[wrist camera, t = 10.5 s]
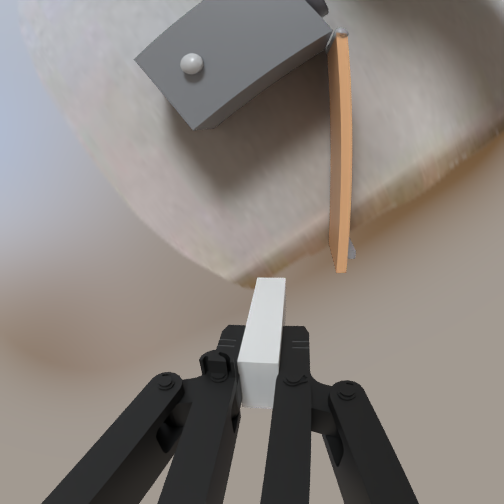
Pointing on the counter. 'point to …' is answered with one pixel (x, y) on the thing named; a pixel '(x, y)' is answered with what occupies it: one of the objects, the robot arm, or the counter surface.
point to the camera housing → (232, 53)
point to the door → (340, 149)
